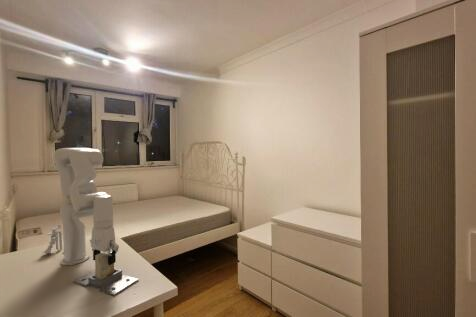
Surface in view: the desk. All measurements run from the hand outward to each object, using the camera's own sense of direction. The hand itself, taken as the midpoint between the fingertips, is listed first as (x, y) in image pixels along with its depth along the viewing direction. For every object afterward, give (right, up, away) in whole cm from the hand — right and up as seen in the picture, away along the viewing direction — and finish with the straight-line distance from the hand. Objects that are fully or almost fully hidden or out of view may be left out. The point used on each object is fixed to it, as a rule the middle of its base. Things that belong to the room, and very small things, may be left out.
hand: (104, 261), depth 102 cm
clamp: (-48, -9, +32) cm, 59 cm away
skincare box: (+1, -9, 0) cm, 9 cm away
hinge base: (+1, -9, 0) cm, 9 cm away
